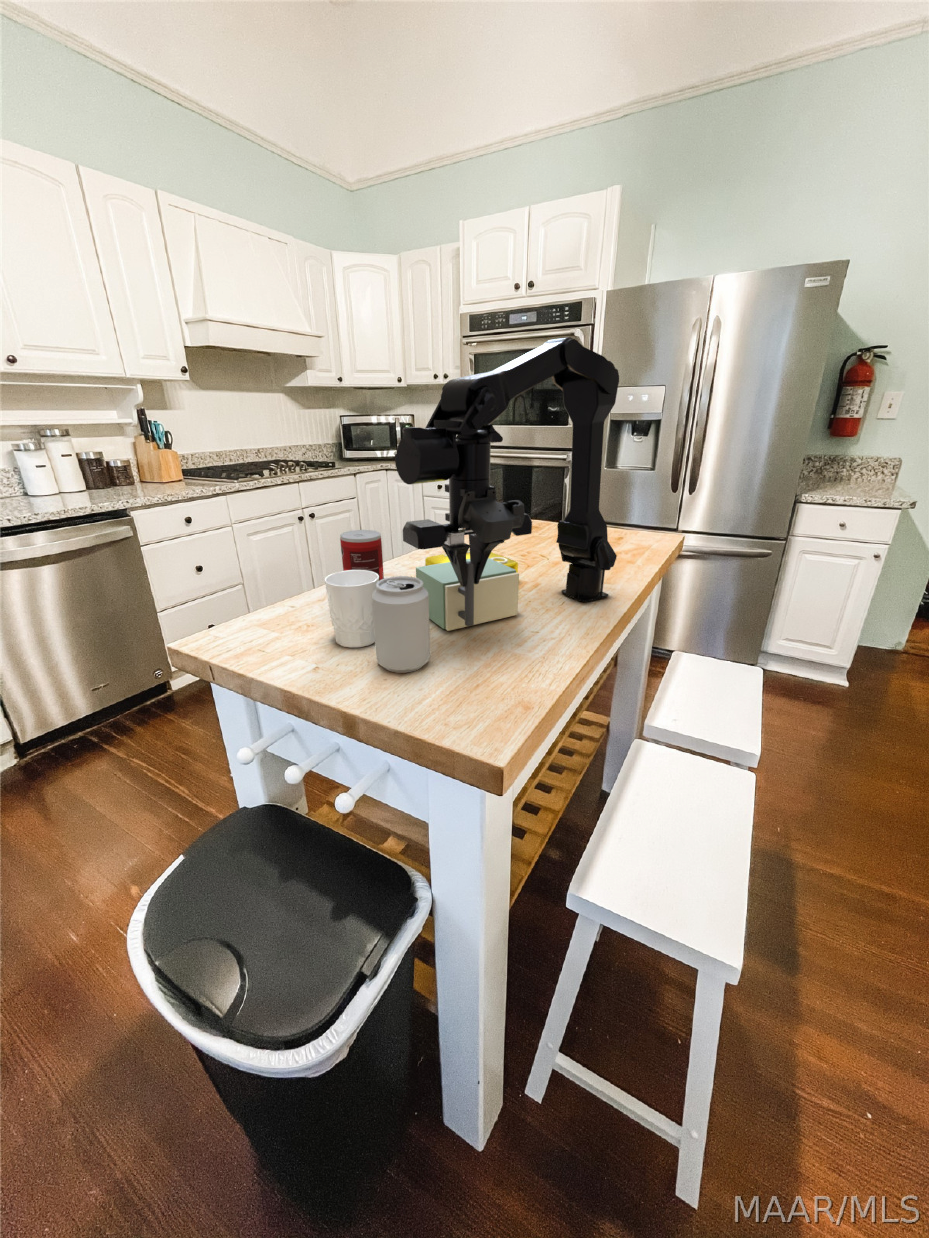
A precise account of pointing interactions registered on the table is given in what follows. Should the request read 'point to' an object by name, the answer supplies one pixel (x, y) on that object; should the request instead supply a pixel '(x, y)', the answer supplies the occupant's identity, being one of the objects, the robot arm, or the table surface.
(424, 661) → the can
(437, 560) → the element tile
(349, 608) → the white cup
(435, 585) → the mini fridge
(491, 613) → the fridge door
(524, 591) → the table surface
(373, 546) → the canned food
